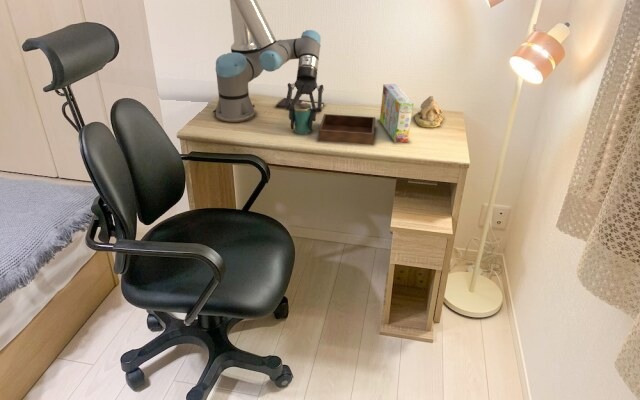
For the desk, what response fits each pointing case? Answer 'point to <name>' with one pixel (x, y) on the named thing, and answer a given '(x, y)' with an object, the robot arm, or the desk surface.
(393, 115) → the snack box
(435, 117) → the ceramic model
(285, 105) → the robot arm
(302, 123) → the tin
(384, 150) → the desk surface
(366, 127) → the dark wooden tray
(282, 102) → the chocolate bar
